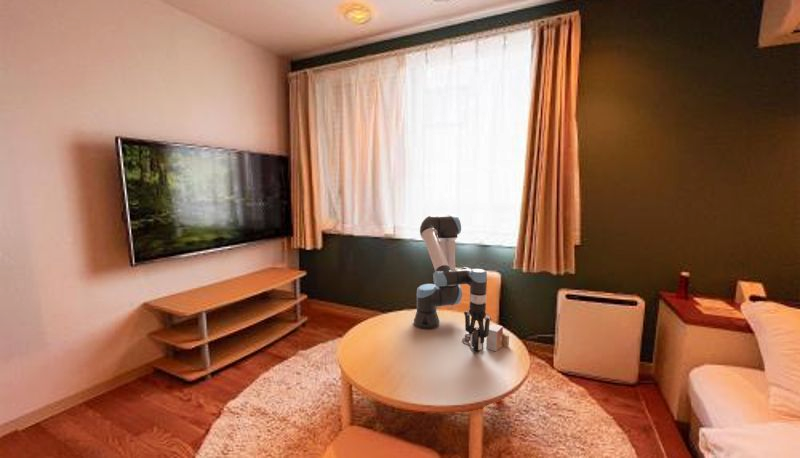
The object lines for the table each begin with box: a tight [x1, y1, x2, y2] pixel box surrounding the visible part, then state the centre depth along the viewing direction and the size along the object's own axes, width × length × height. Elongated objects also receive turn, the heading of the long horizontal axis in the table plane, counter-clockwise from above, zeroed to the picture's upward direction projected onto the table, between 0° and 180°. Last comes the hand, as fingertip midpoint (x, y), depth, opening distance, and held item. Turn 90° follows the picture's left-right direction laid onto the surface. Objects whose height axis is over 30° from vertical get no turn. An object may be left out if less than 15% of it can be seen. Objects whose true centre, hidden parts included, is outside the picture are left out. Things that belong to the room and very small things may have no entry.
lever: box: [464, 326, 484, 354], centre depth 167 cm, size 17×7×12 cm, turn 3°
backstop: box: [502, 332, 510, 348], centre depth 171 cm, size 8×2×6 cm, turn 34°
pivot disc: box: [461, 336, 470, 346], centre depth 174 cm, size 8×8×1 cm
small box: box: [485, 323, 504, 352], centre depth 167 cm, size 8×6×10 cm
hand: (476, 347), depth 161 cm, fingers closed on lever, 4 cm apart
